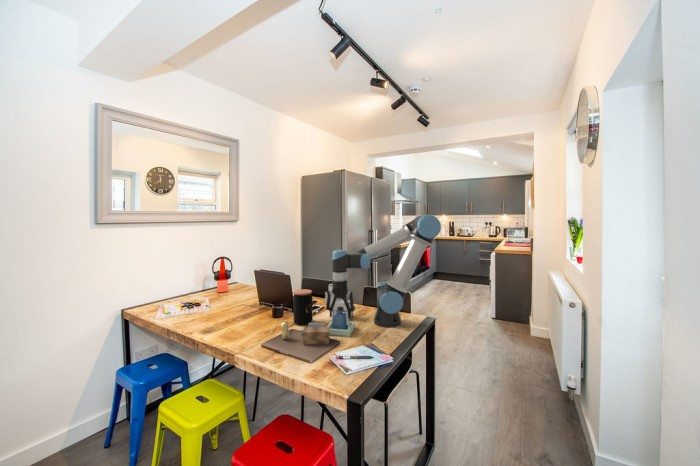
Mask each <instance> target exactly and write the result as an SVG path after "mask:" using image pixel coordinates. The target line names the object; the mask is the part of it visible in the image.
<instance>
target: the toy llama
mask: <svg viewBox="0 0 700 466" xmlns="http://www.w3.org/2000/svg"><path fill="white" fill-rule="evenodd" d="M332 289H333V282H332V283H329V284H328V290H332ZM334 296H335V295H334V294H333V293H332V294H331V300H330V307H331V304H332V302H333V299H334ZM327 297H328V295H327V291H325V292H324V305H325V306H326V305H327ZM347 301H348V303H349V306H350V299H347ZM337 307H344V308H343V309H344V312H343V313H346V312H347V308H346V306H345V303H344V300H343V298H337V300H336V302H335V305H334V308H333V310H334V317H335V315H336V314H337V313H338V312H337V309H338V308H337ZM350 309H351V306H350ZM354 312H356V306H355V305H354V310H353V311H351V317H350V318H349V321H350V319H353V318H354ZM352 317H353V318H352Z"/></svg>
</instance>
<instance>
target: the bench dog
mask: <svg viewBox="0 0 700 466" xmlns="http://www.w3.org/2000/svg"><path fill="white" fill-rule="evenodd" d="M289 327H290V326H289V322H288V321H282V322H281V340H282V339H288V338H289V337H290V334H289V333H290V332H289ZM289 339H290V338H289ZM289 339H288V340H289Z"/></svg>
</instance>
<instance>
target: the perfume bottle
mask: <svg viewBox="0 0 700 466" xmlns="http://www.w3.org/2000/svg"><path fill="white" fill-rule="evenodd" d="M337 308H338V309H337V312H338V313H337V314H336V315H335V317H334V319H333V329H340V330H347V329H348V325H346V313H344V309H343V308H344V307H337Z"/></svg>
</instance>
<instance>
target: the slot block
mask: <svg viewBox="0 0 700 466" xmlns="http://www.w3.org/2000/svg"><path fill="white" fill-rule="evenodd" d="M324 325H325V324H324V323H321V322H311V323H309V324H308V325H307V327H325V326H324ZM300 331H301V334H303V331H304V328H302V329H301V330H300ZM301 334H300V335H301Z"/></svg>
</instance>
